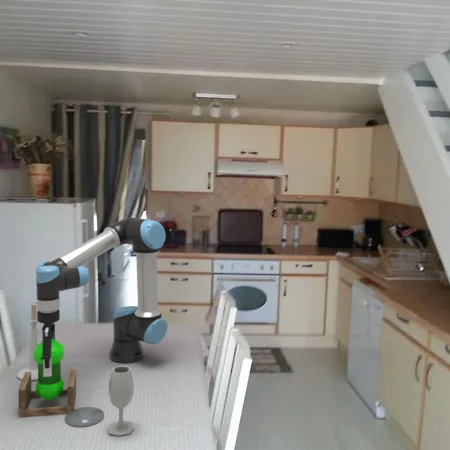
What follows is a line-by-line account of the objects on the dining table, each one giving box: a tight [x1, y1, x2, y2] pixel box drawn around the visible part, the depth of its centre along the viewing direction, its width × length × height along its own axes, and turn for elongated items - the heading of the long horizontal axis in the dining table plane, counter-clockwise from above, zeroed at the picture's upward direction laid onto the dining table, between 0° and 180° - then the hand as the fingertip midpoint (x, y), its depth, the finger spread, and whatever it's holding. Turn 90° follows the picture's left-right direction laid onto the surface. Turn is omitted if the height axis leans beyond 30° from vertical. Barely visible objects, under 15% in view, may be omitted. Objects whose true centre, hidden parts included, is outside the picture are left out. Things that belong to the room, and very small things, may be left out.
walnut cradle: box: [17, 368, 77, 419], centre depth 179 cm, size 18×15×10 cm
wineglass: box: [106, 365, 135, 437], centre depth 164 cm, size 9×9×21 cm
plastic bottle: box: [34, 328, 65, 401], centre depth 178 cm, size 10×10×25 cm
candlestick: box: [16, 303, 38, 382], centre depth 204 cm, size 13×13×30 cm
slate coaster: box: [64, 406, 105, 428], centre depth 172 cm, size 13×13×1 cm
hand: (49, 369), depth 179 cm, fingers closed on plastic bottle, 10 cm apart
